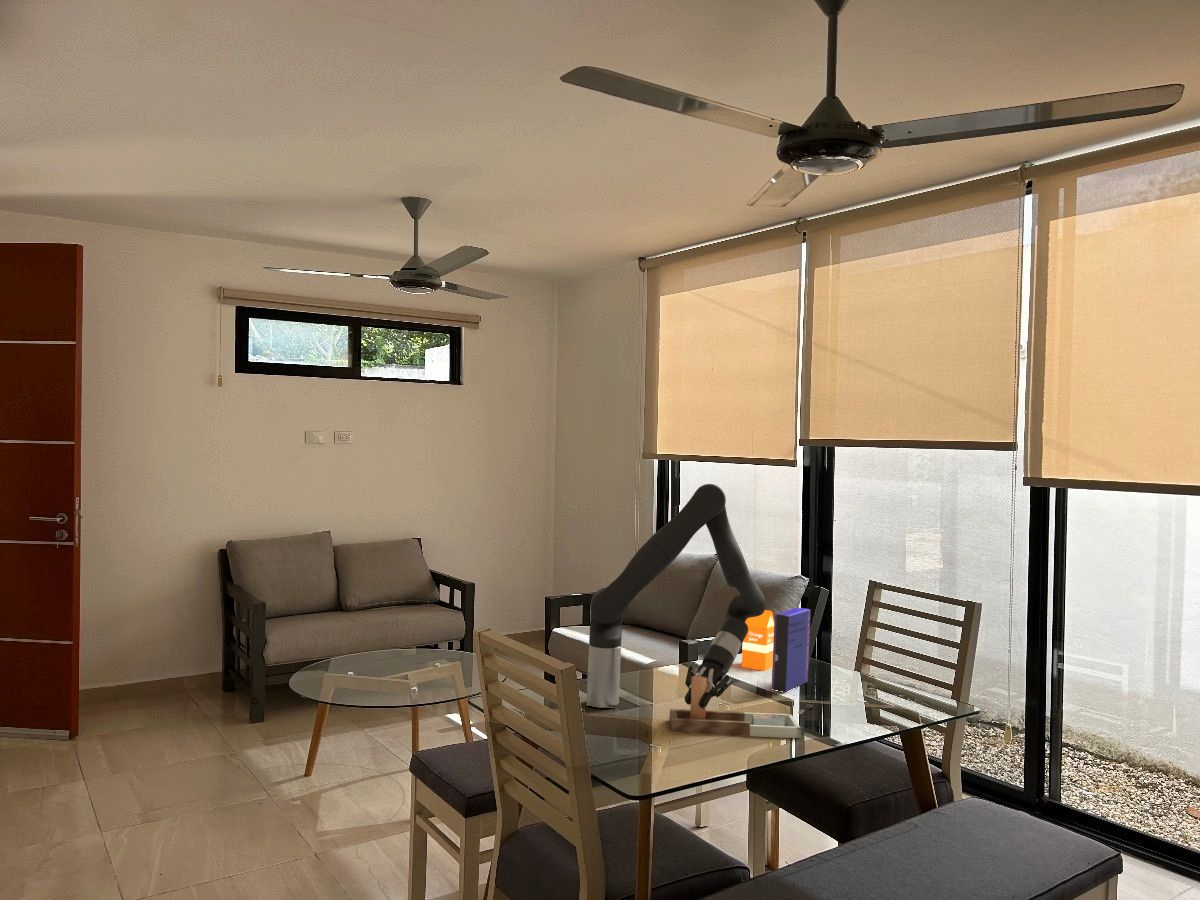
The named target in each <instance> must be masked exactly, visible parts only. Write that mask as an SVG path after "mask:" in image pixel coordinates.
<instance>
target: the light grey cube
mask: <svg viewBox="0 0 1200 900" xmlns="http://www.w3.org/2000/svg"><path fill="white" fill-rule="evenodd" d="M751 713H752V724H751V725H769V717H768V715H767V714H755V713H756V712H751Z"/></svg>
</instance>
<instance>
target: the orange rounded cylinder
mask: <svg viewBox="0 0 1200 900" xmlns="http://www.w3.org/2000/svg"><path fill="white" fill-rule="evenodd" d="M706 688H707V677H704V676H692V685H691V704H690V709H689V710H690V719H703V720H705V716H706V709H707V706H706V707H704V709H703V708H700V706H699V705H698V703H699V701H700V699H701V697H702V696H703V694H704V692H705V693H706Z"/></svg>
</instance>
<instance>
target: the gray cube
mask: <svg viewBox="0 0 1200 900" xmlns="http://www.w3.org/2000/svg"><path fill="white" fill-rule="evenodd" d="M775 714H776V713H772V714H767V715H768V717H769V726H785V725H784V722H785V719H784V717H783V715H775Z"/></svg>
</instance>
